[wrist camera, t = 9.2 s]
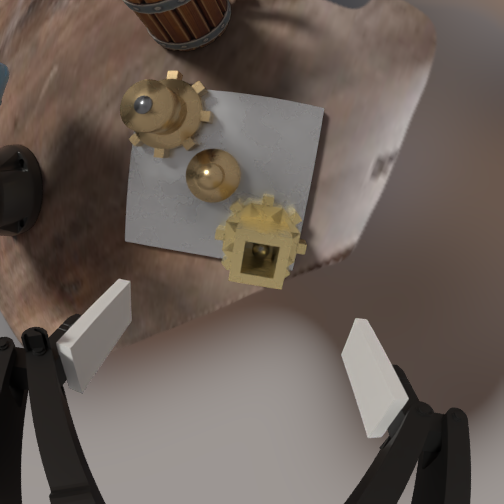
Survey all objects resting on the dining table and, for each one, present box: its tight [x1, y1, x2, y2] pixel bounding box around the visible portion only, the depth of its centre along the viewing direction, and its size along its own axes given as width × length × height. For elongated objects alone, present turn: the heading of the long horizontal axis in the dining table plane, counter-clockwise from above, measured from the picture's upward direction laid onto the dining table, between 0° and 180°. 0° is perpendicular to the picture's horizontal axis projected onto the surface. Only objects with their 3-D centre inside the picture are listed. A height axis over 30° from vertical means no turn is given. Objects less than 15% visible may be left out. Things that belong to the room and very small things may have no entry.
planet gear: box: [215, 194, 307, 289], centre depth 31 cm, size 10×10×8 cm
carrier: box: [120, 71, 324, 270], centre depth 29 cm, size 23×22×10 cm
